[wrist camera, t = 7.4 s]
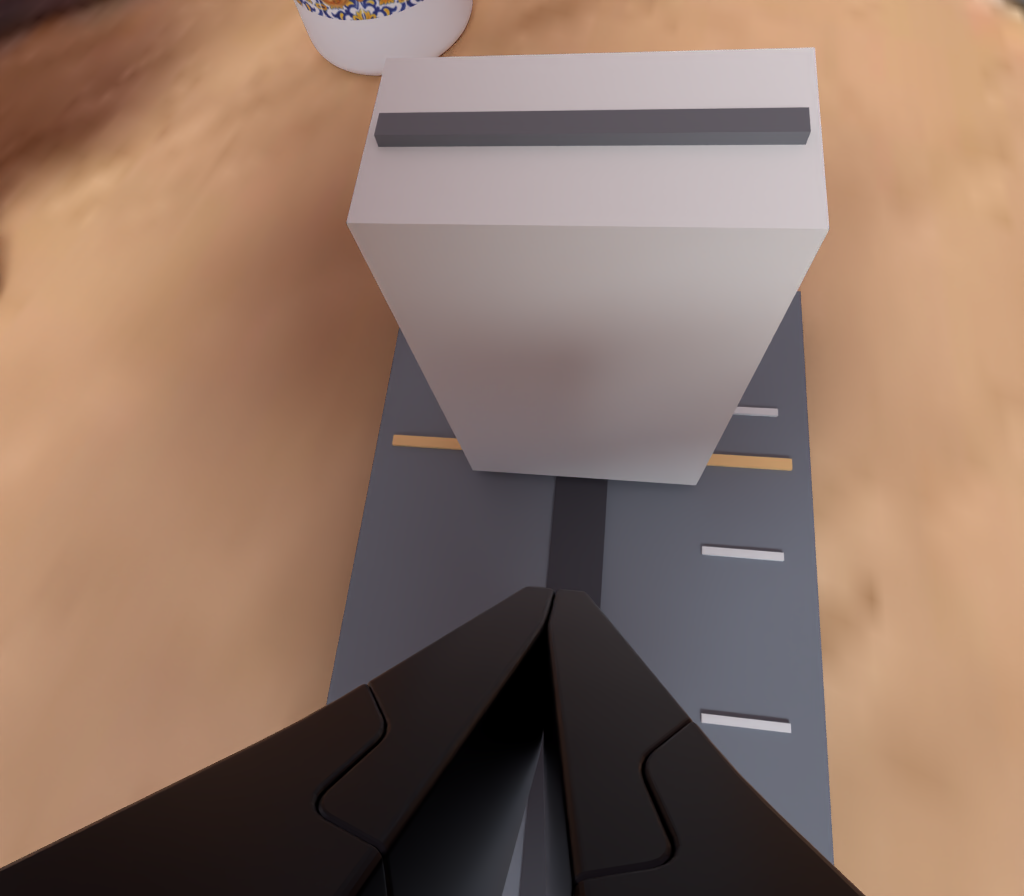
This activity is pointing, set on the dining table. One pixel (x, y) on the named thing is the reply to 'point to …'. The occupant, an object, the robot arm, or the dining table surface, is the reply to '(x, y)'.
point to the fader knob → (592, 244)
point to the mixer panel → (619, 576)
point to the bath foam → (382, 30)
